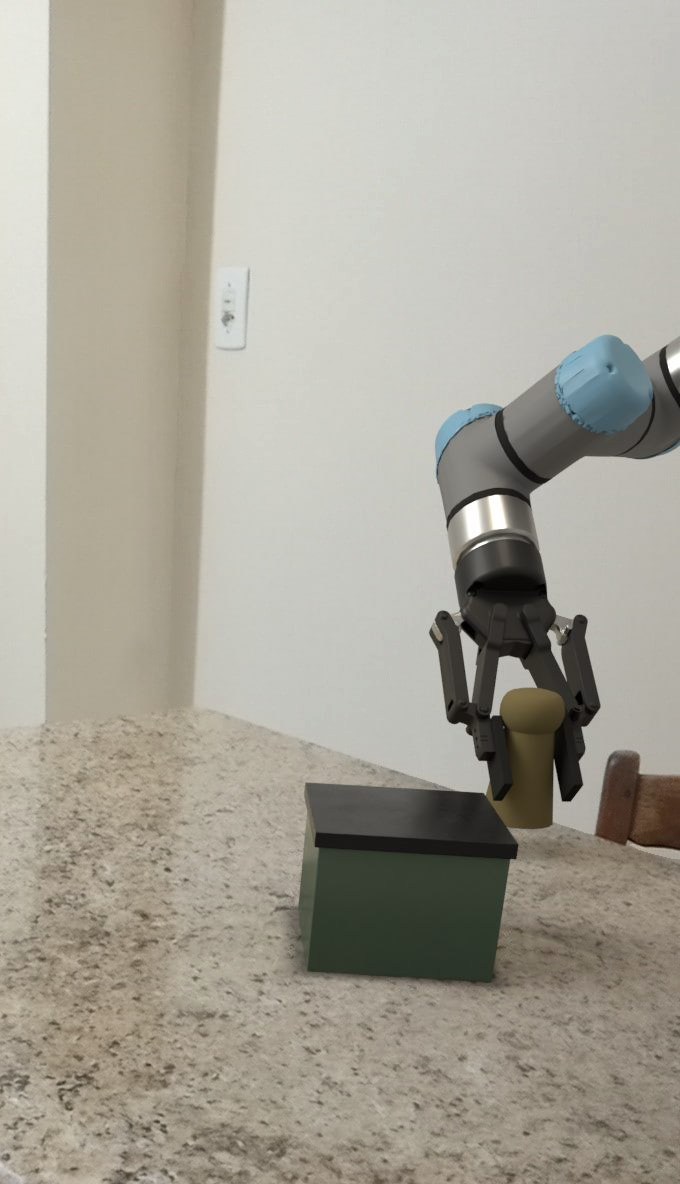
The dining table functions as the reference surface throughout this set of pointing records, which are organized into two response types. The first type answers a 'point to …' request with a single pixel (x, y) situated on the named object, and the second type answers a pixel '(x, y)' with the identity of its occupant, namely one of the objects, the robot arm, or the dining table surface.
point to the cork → (529, 756)
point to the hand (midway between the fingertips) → (537, 792)
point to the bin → (402, 882)
